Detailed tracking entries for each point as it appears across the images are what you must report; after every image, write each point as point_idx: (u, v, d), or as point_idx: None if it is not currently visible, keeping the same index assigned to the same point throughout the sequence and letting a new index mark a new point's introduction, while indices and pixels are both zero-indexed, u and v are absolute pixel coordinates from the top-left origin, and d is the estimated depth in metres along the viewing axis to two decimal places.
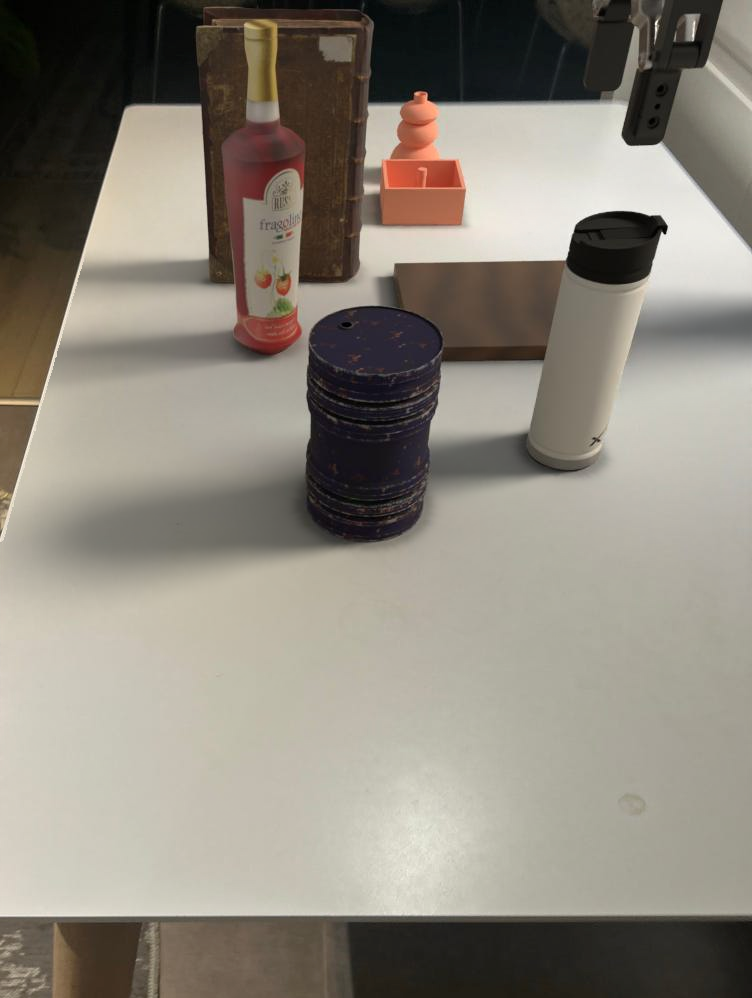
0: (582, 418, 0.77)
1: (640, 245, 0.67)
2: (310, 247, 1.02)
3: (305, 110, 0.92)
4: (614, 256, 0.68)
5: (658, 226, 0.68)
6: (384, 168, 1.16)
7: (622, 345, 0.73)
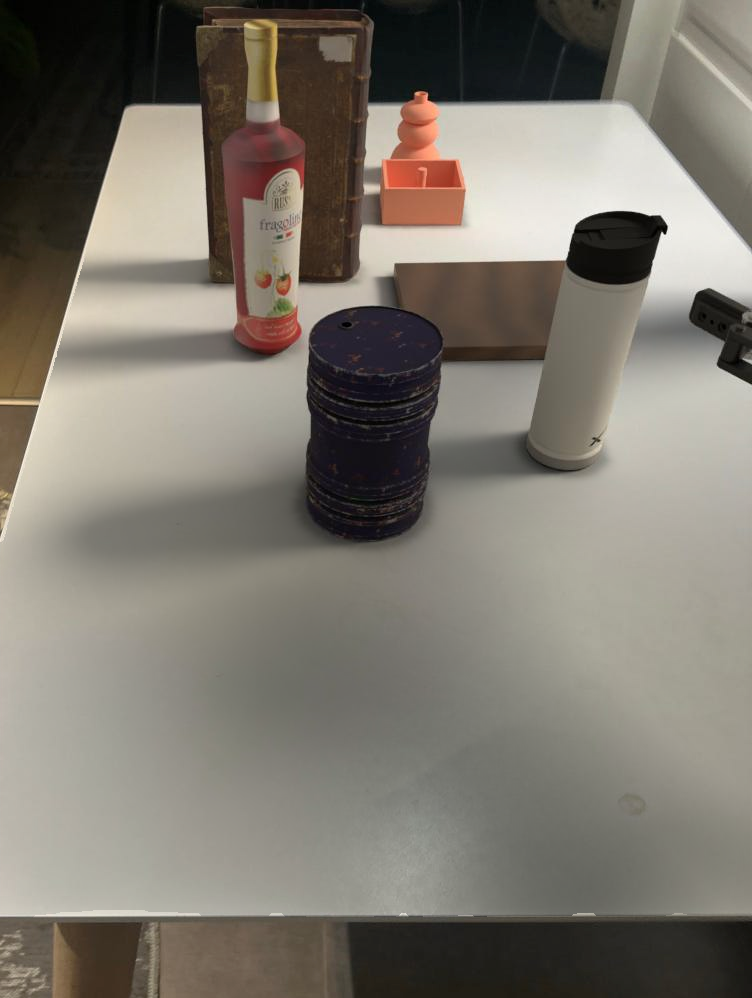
0: (582, 418, 0.77)
1: (640, 245, 0.67)
2: (310, 247, 1.02)
3: (305, 110, 0.92)
4: (614, 256, 0.68)
5: (658, 226, 0.68)
6: (384, 168, 1.16)
7: (622, 345, 0.73)
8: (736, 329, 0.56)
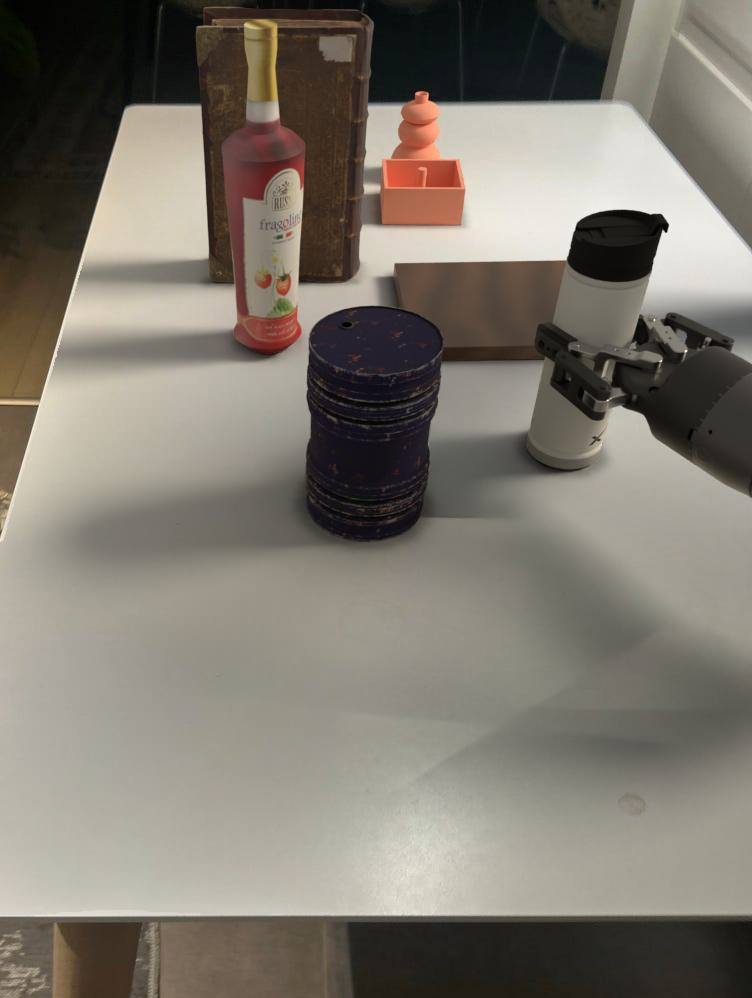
0: (582, 417, 0.77)
1: (641, 242, 0.67)
2: (310, 247, 1.02)
3: (305, 110, 0.92)
4: (615, 253, 0.68)
5: (659, 224, 0.68)
6: (384, 168, 1.16)
7: (622, 343, 0.73)
8: (561, 356, 0.71)
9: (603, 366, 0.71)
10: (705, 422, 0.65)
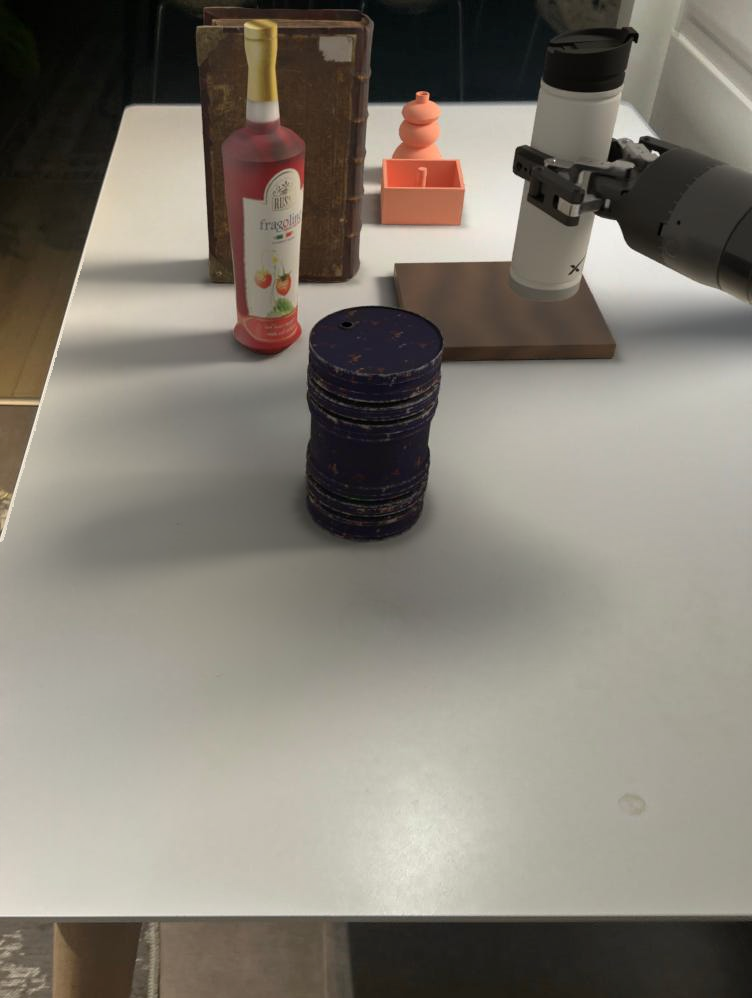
0: (560, 242, 0.80)
1: (612, 49, 0.70)
2: (310, 247, 1.02)
3: (305, 110, 0.92)
4: (587, 61, 0.70)
5: (629, 34, 0.71)
6: (384, 167, 1.16)
7: None
8: (536, 168, 0.73)
9: (577, 179, 0.74)
10: (674, 214, 0.67)
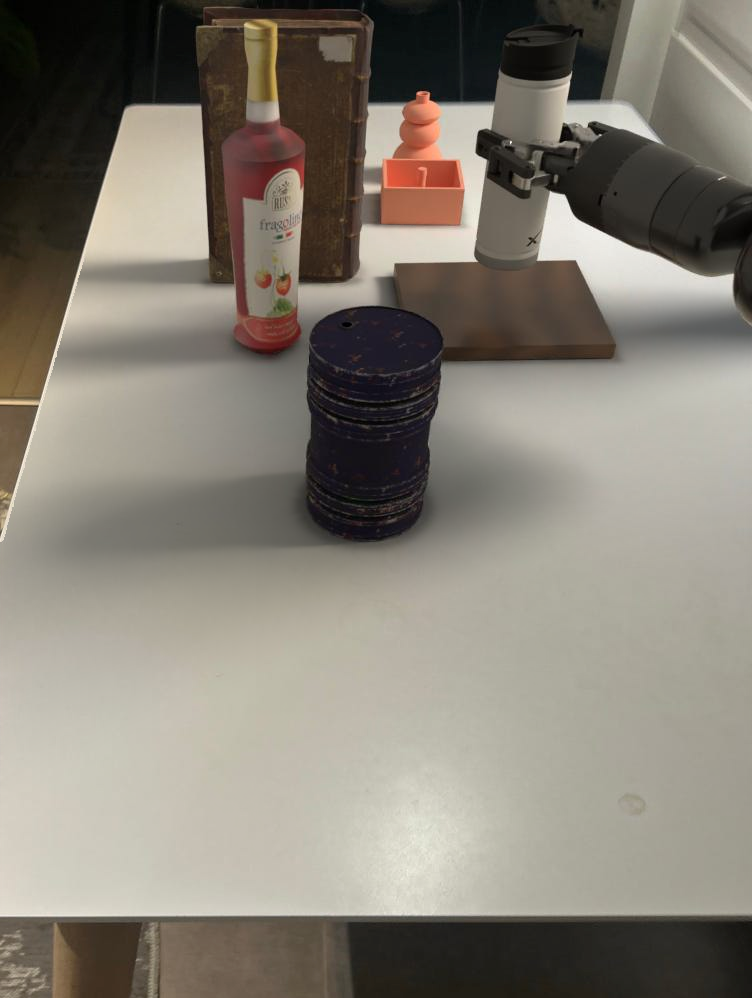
0: (518, 216, 0.89)
1: (559, 42, 0.79)
2: (310, 247, 1.02)
3: (305, 110, 0.92)
4: (537, 53, 0.80)
5: (575, 29, 0.80)
6: (384, 167, 1.16)
7: None
8: (494, 148, 0.83)
9: (531, 158, 0.83)
10: (611, 186, 0.77)
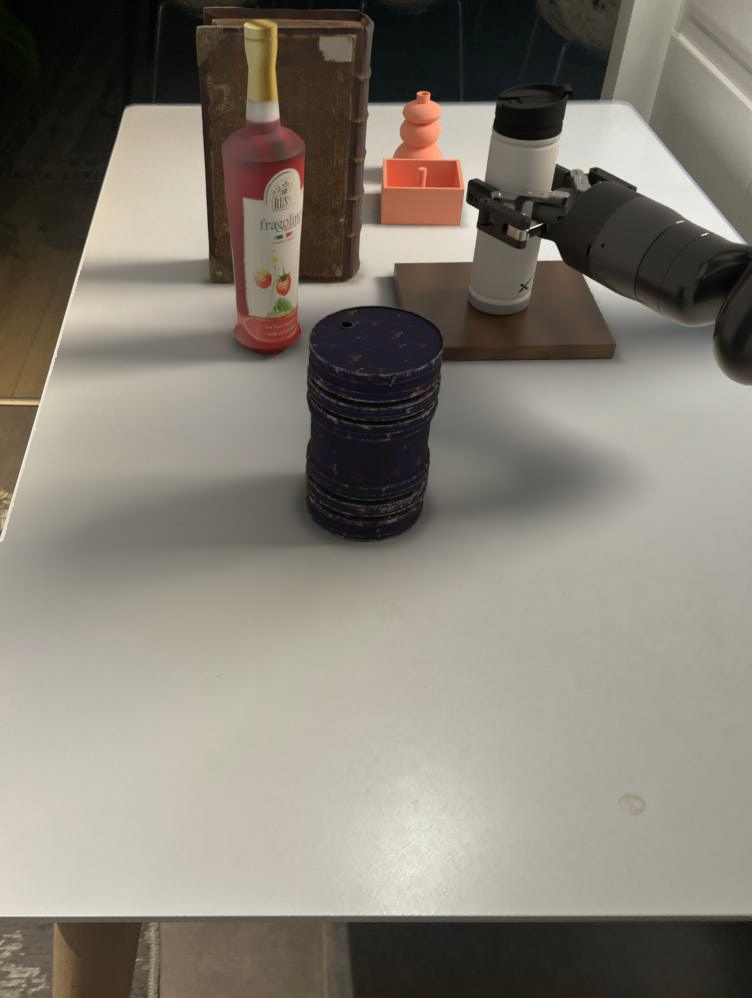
0: (510, 265, 0.93)
1: (549, 105, 0.82)
2: (310, 247, 1.02)
3: (305, 110, 0.92)
4: (529, 115, 0.83)
5: (565, 91, 0.84)
6: (384, 167, 1.16)
7: None
8: (483, 200, 0.85)
9: (522, 208, 0.86)
10: (599, 238, 0.80)
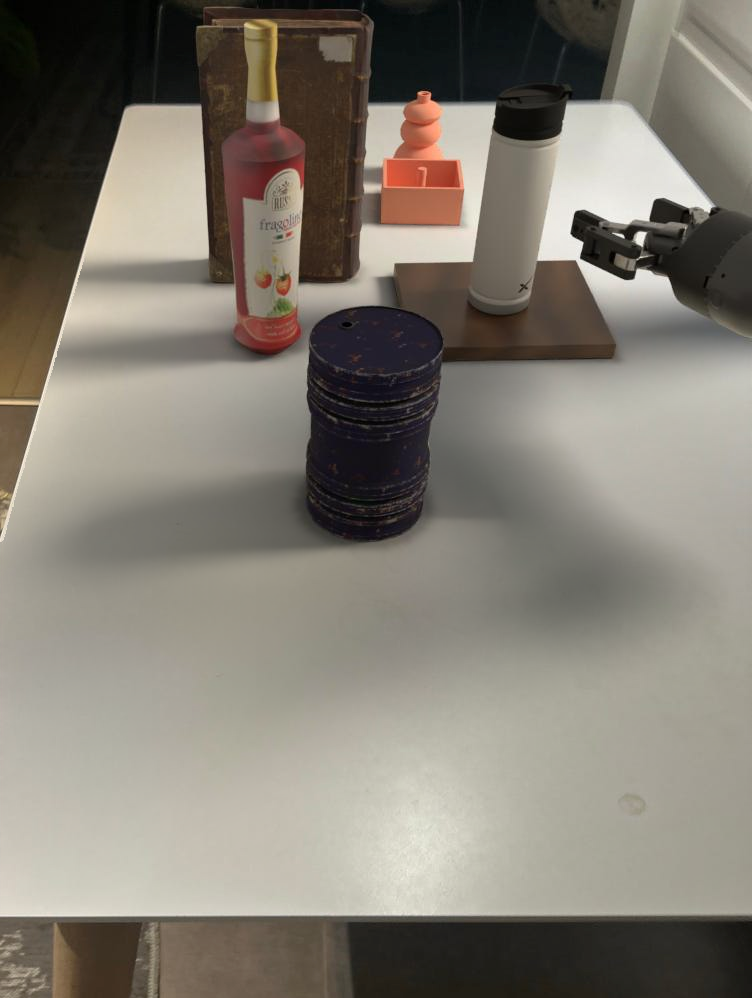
0: (510, 265, 0.93)
1: (549, 105, 0.82)
2: (310, 247, 1.02)
3: (305, 110, 0.92)
4: (528, 115, 0.83)
5: (565, 91, 0.84)
6: (384, 167, 1.16)
7: (540, 197, 0.88)
8: (590, 228, 0.78)
9: (632, 239, 0.78)
10: (719, 267, 0.71)
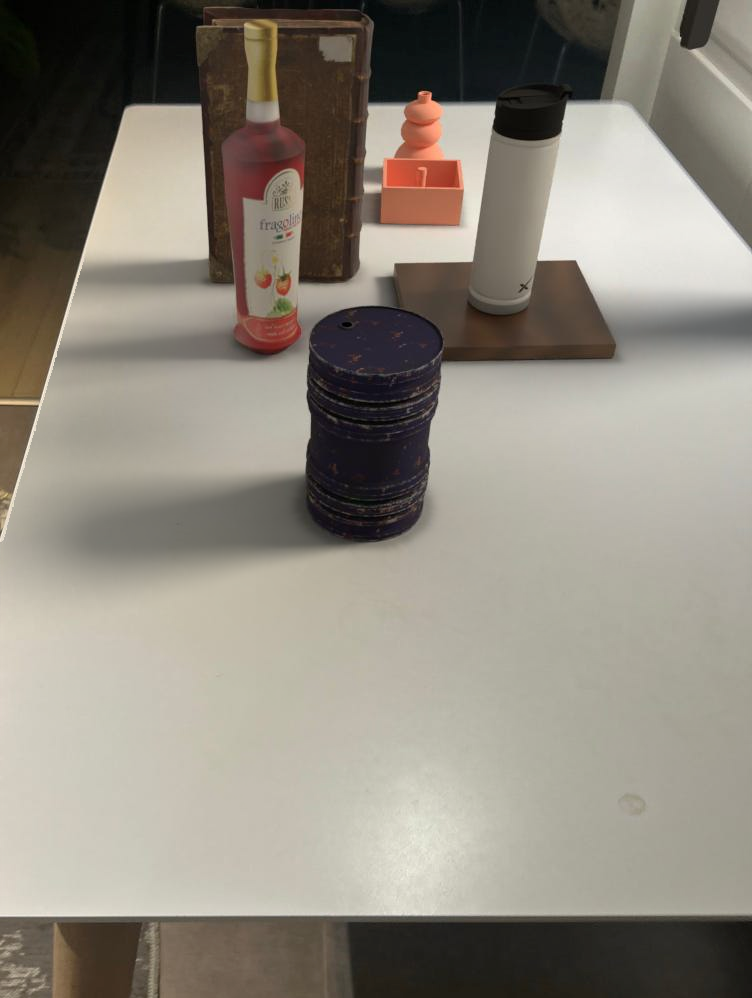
0: (510, 265, 0.93)
1: (549, 105, 0.82)
2: (310, 247, 1.02)
3: (305, 110, 0.92)
4: (528, 115, 0.83)
5: (565, 91, 0.84)
6: (384, 167, 1.17)
7: (540, 197, 0.88)
8: None
9: None
10: None
